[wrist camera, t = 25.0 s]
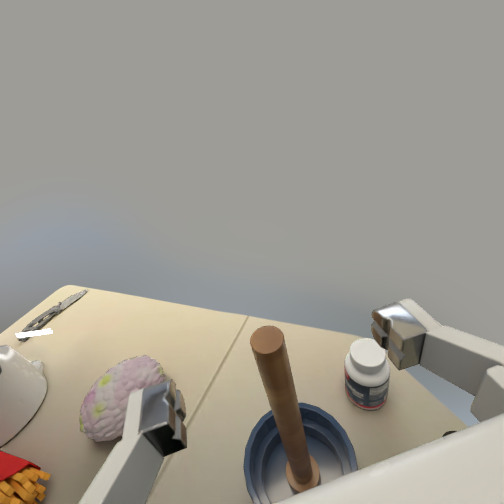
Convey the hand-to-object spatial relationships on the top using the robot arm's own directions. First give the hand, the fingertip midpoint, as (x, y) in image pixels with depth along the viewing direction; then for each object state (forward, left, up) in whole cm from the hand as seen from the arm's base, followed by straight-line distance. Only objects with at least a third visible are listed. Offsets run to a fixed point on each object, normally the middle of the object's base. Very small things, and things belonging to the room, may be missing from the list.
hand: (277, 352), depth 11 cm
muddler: (-2, +5, -29) cm, 30 cm away
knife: (-57, +35, -30) cm, 73 cm away
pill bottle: (+7, +15, -30) cm, 34 cm away
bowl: (-2, +5, -30) cm, 30 cm away
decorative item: (-27, +13, -30) cm, 42 cm away
